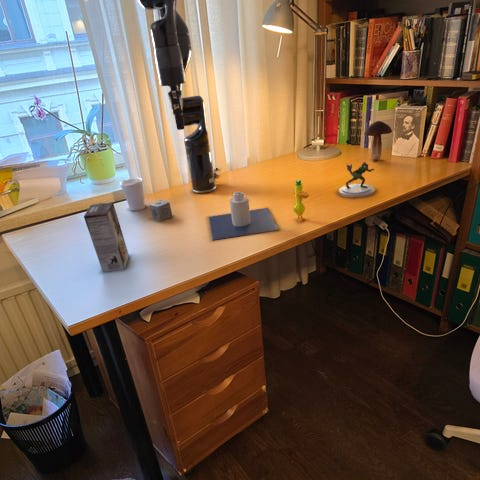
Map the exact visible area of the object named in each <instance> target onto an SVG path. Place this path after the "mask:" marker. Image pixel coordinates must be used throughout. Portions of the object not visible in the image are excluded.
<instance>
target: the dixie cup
mask: <svg viewBox="0 0 480 480" xmlns="http://www.w3.org/2000/svg"><path fill="white" fill-rule="evenodd" d="M119 185H120V187H121V189H122V193H123V195H124V197H125V199H126V202H127V204H128V207H129V209H130V211H140V210H143V209H145V208H146V201H145V193H144V185H143V178H141V177H132V178H126V179H124V180H121V181H119Z"/></svg>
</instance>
